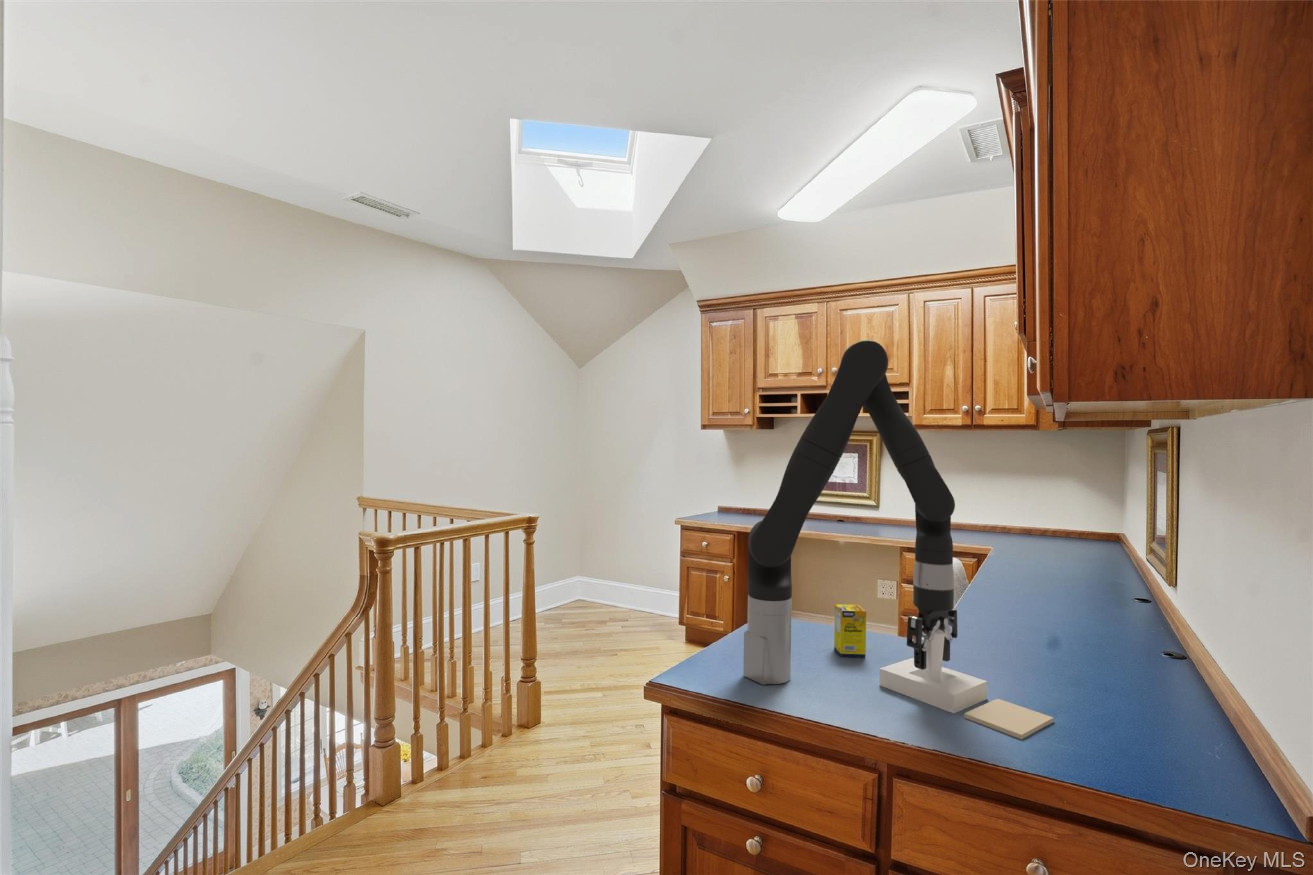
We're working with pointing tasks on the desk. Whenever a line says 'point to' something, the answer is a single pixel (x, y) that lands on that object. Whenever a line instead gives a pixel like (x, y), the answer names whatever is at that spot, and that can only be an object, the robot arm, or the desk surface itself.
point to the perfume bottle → (934, 657)
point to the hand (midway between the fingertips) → (932, 664)
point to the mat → (1009, 718)
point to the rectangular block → (934, 686)
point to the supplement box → (850, 631)
